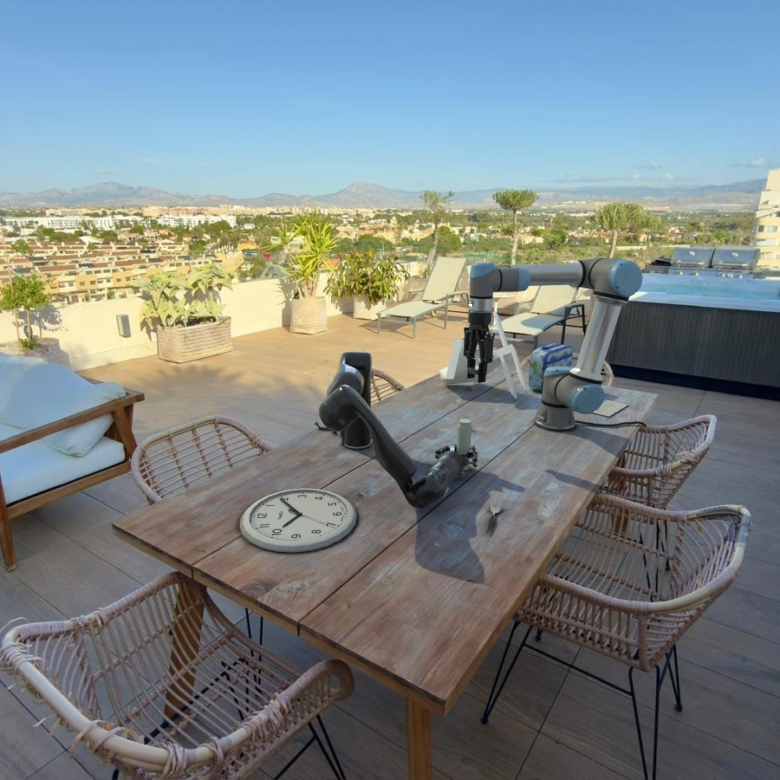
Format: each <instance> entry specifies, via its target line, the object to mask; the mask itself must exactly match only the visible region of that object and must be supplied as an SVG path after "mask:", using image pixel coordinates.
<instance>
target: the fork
mask: <svg viewBox="0 0 780 780" xmlns="http://www.w3.org/2000/svg"><path fill="white" fill-rule="evenodd" d="M494 501H495V502H494ZM502 501H503V499H502V498H501V499H497V498H493V499H492V503H491V506H490V512H491V513H492V515H491V516H490V518H489V519H488V525H487V530H486V533H487V534H489V532H490V529H491V528H492V526H493V524H494V519H495V514H499V513H500V512H501V509H502Z"/></svg>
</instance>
